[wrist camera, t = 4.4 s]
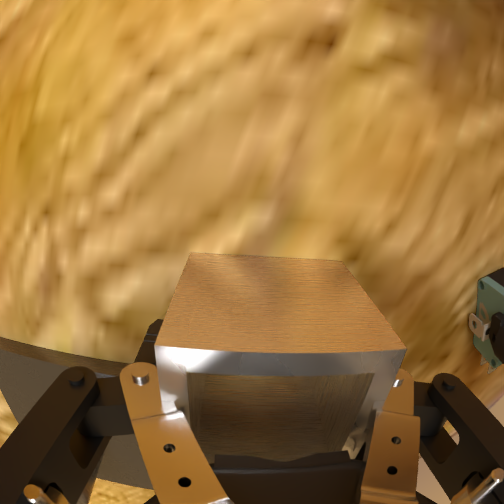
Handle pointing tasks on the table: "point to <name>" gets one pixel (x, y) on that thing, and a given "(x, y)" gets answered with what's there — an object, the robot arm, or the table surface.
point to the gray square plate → (35, 385)
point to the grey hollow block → (274, 355)
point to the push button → (490, 320)
